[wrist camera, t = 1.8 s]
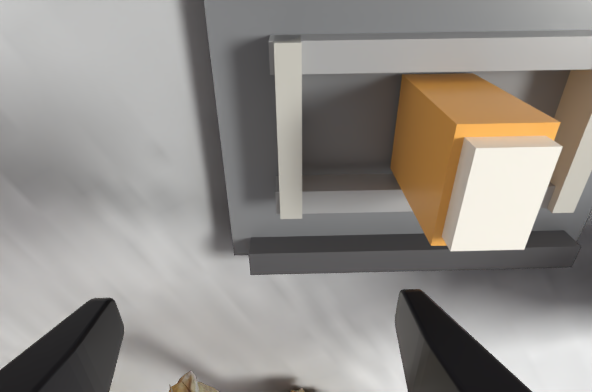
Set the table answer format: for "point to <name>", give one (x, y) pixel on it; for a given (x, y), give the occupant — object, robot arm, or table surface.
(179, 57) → the table surface
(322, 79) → the grey rectangular tray
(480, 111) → the toggle
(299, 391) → the pine cone
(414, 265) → the grey rectangular base plate
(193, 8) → the table surface
